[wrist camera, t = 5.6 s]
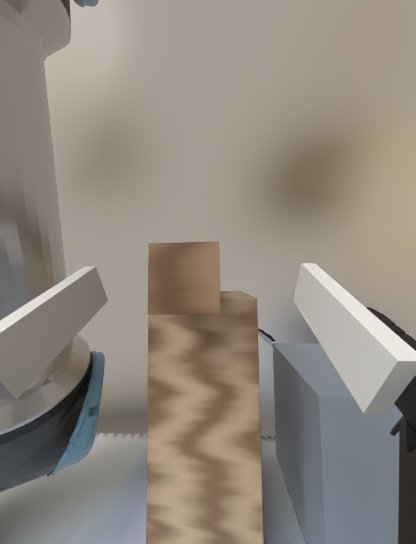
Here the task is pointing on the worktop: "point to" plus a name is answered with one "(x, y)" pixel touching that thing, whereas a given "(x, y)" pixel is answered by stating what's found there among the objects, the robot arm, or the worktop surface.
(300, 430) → the slate base
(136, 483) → the worktop surface
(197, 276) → the walnut bar
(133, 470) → the worktop surface
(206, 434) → the oak stand
